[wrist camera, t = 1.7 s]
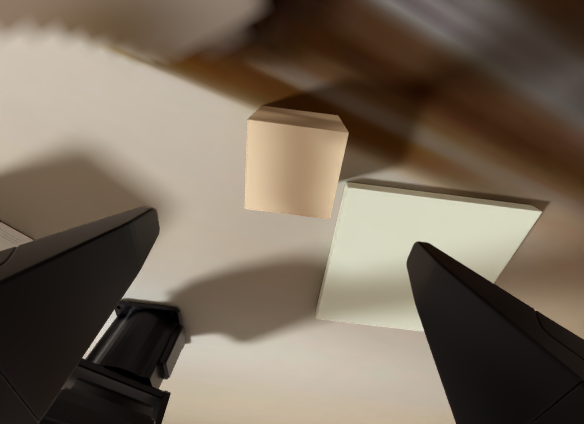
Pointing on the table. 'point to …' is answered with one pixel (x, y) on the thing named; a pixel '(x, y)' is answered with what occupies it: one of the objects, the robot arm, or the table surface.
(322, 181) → the maple cube
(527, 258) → the table surface
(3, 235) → the supplement box
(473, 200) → the sage board
